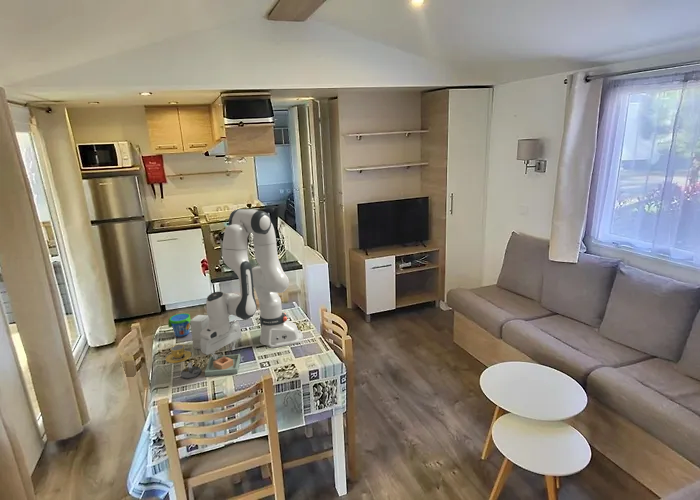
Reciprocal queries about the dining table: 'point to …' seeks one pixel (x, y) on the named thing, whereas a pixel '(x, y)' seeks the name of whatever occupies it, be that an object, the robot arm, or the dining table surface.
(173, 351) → the cup
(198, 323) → the grey tall box
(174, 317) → the snack cup
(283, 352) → the dining table surface
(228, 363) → the orange hollow square block
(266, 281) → the robot arm
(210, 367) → the tray
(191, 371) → the silver knobbed lid
